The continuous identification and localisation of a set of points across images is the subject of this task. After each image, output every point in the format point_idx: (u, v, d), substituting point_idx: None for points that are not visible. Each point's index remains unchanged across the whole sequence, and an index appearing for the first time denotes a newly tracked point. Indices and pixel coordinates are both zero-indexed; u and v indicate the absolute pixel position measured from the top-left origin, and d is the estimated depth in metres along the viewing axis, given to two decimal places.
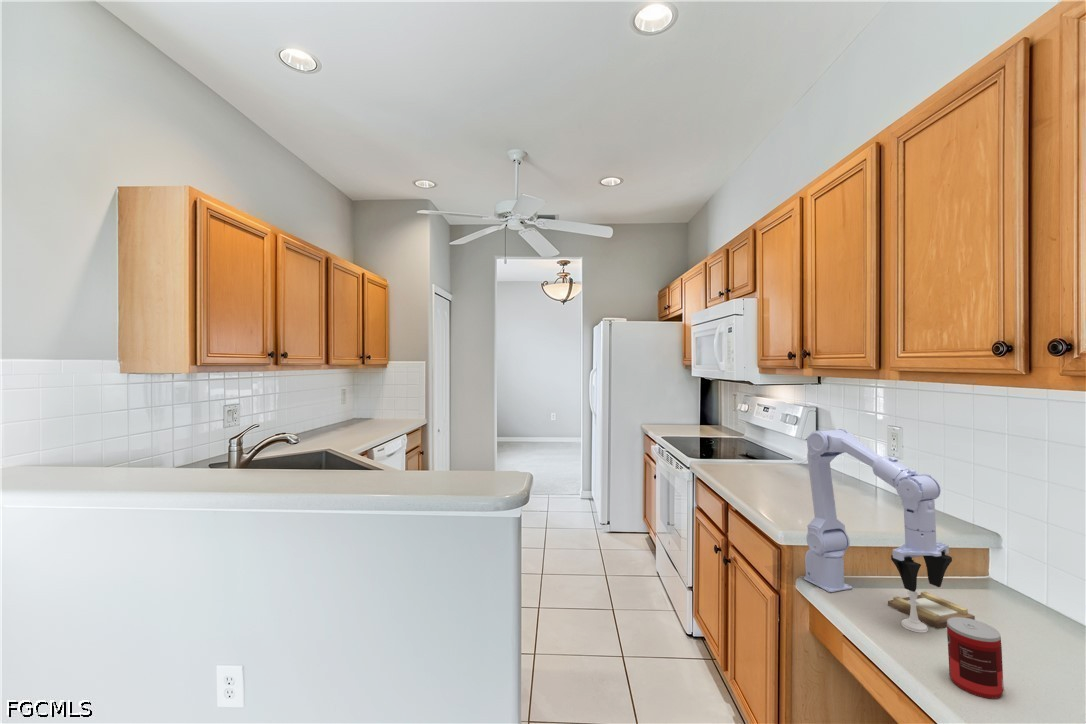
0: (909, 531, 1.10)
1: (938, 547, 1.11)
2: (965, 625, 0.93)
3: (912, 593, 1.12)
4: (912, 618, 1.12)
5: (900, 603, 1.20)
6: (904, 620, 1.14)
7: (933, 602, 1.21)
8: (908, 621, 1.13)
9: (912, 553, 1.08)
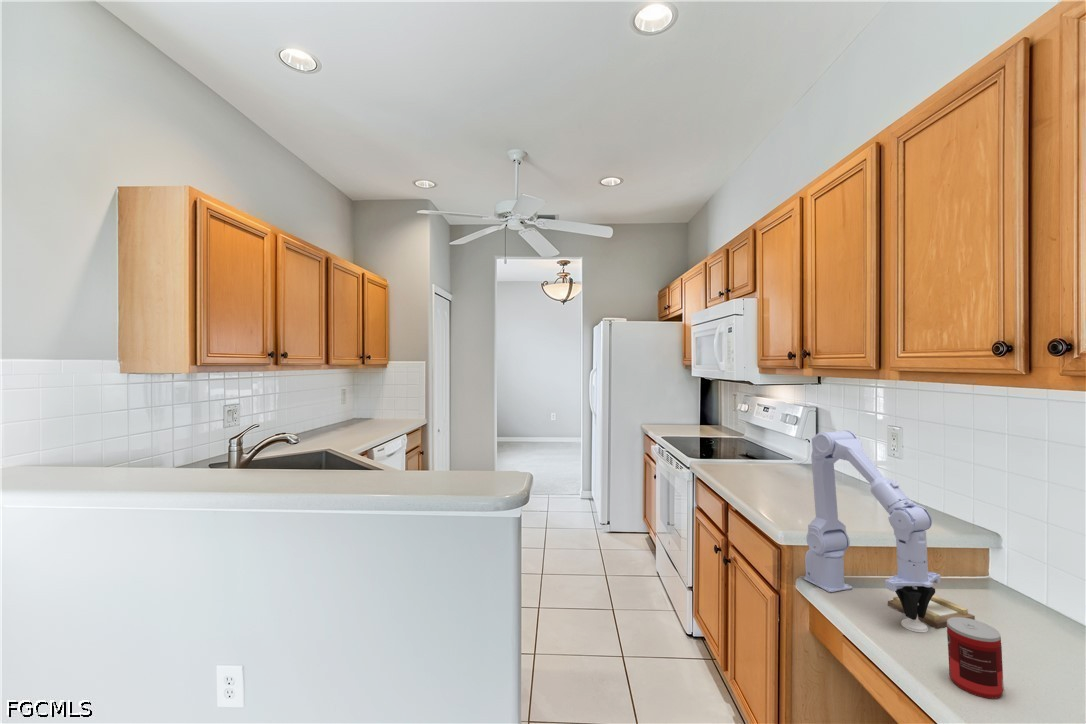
0: (901, 561, 1.12)
1: (930, 577, 1.13)
2: (965, 625, 0.93)
3: None
4: None
5: (900, 603, 1.20)
6: (904, 620, 1.14)
7: (933, 602, 1.21)
8: (908, 621, 1.13)
9: (904, 584, 1.10)
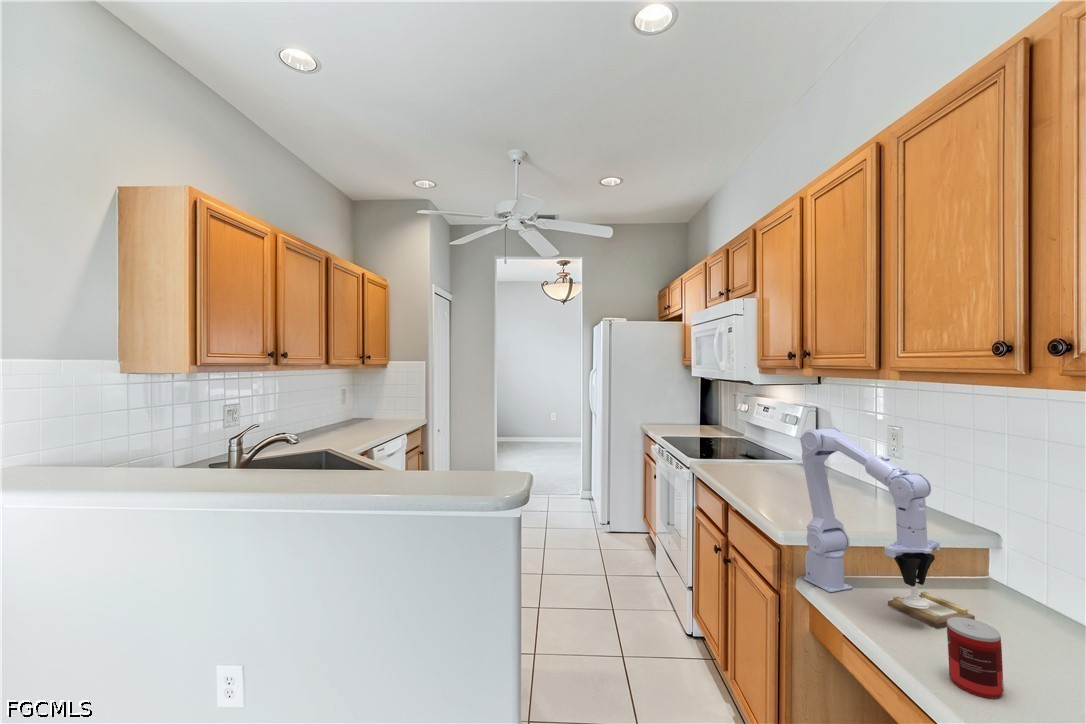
0: (901, 529, 1.13)
1: (929, 544, 1.14)
2: (965, 625, 0.93)
3: None
4: (913, 595, 1.12)
5: (900, 603, 1.20)
6: (905, 598, 1.14)
7: (933, 602, 1.21)
8: (909, 598, 1.13)
9: (903, 550, 1.10)
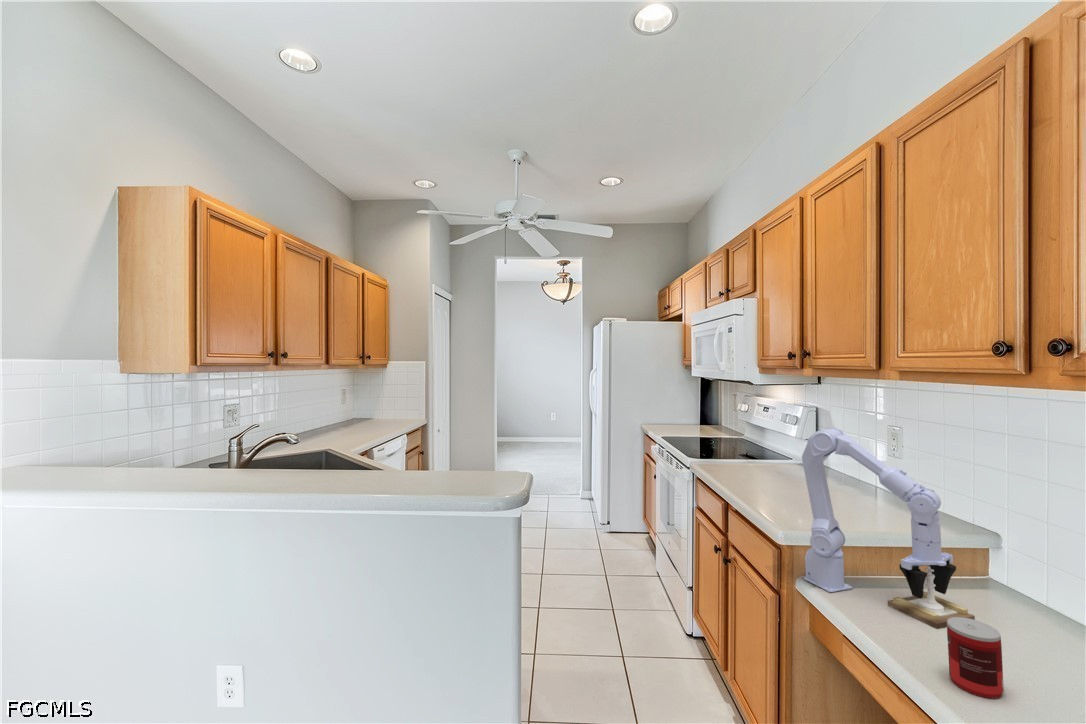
0: (916, 542, 1.19)
1: (943, 557, 1.19)
2: (965, 625, 0.93)
3: (929, 575, 1.18)
4: (929, 599, 1.18)
5: (900, 603, 1.20)
6: (921, 601, 1.19)
7: None
8: (925, 602, 1.18)
9: (919, 563, 1.16)
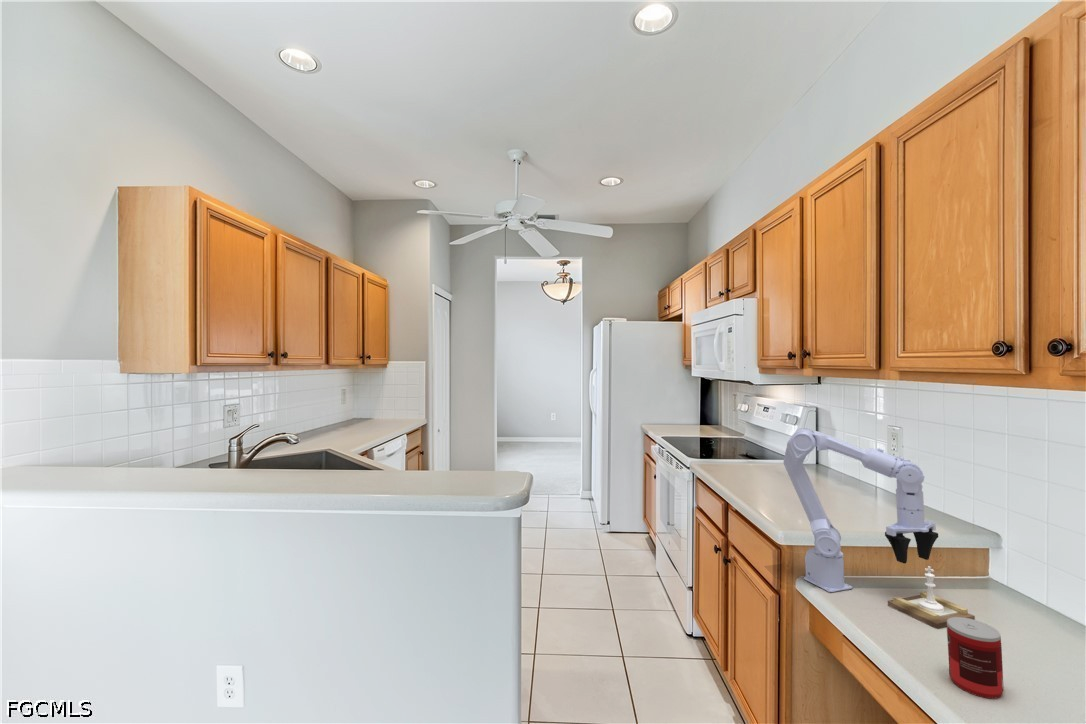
0: (900, 510, 1.25)
1: (926, 525, 1.26)
2: (965, 625, 0.93)
3: (929, 575, 1.18)
4: (929, 599, 1.18)
5: (900, 603, 1.20)
6: (921, 601, 1.19)
7: None
8: (925, 602, 1.18)
9: (903, 529, 1.23)
